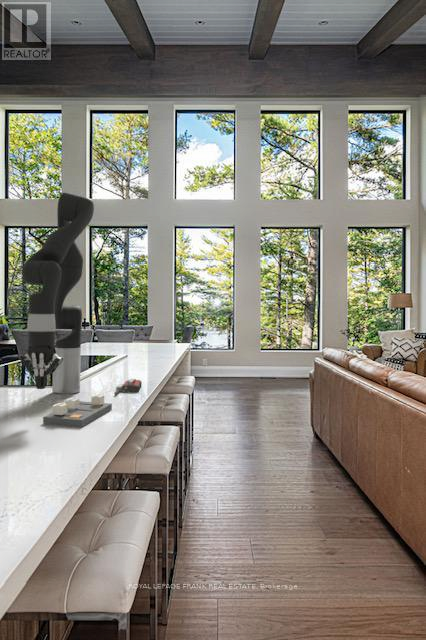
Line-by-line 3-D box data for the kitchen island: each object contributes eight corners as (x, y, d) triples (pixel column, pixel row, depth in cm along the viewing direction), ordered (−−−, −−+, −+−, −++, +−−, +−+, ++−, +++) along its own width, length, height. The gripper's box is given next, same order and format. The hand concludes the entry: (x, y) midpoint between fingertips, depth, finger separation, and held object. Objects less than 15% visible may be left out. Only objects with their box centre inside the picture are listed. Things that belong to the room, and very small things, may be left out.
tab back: (91, 404, 134) (91, 395, 134) (95, 402, 137) (95, 393, 137) (100, 404, 134) (100, 396, 133) (104, 402, 136) (104, 394, 136)
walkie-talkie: (121, 386, 177) (112, 397, 157) (121, 376, 177) (112, 385, 157) (142, 386, 177) (136, 397, 157) (142, 376, 177) (136, 386, 157)
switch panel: (43, 423, 120) (43, 416, 120) (77, 407, 140) (77, 400, 140) (82, 427, 118) (82, 419, 118) (111, 409, 138) (111, 403, 138)
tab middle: (65, 408, 128) (65, 399, 128) (70, 406, 131) (70, 397, 131) (74, 409, 128) (74, 399, 127) (79, 406, 130) (79, 397, 130)
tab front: (52, 414, 121) (52, 404, 121) (58, 411, 124) (58, 402, 124) (62, 415, 121) (62, 405, 121) (67, 412, 124) (67, 403, 123)
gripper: (12, 329, 120) (12, 389, 121) (55, 330, 118) (55, 392, 118) (28, 328, 127) (28, 385, 128) (69, 329, 125) (68, 387, 126)
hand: (41, 388), depth 123 cm, fingers closed
